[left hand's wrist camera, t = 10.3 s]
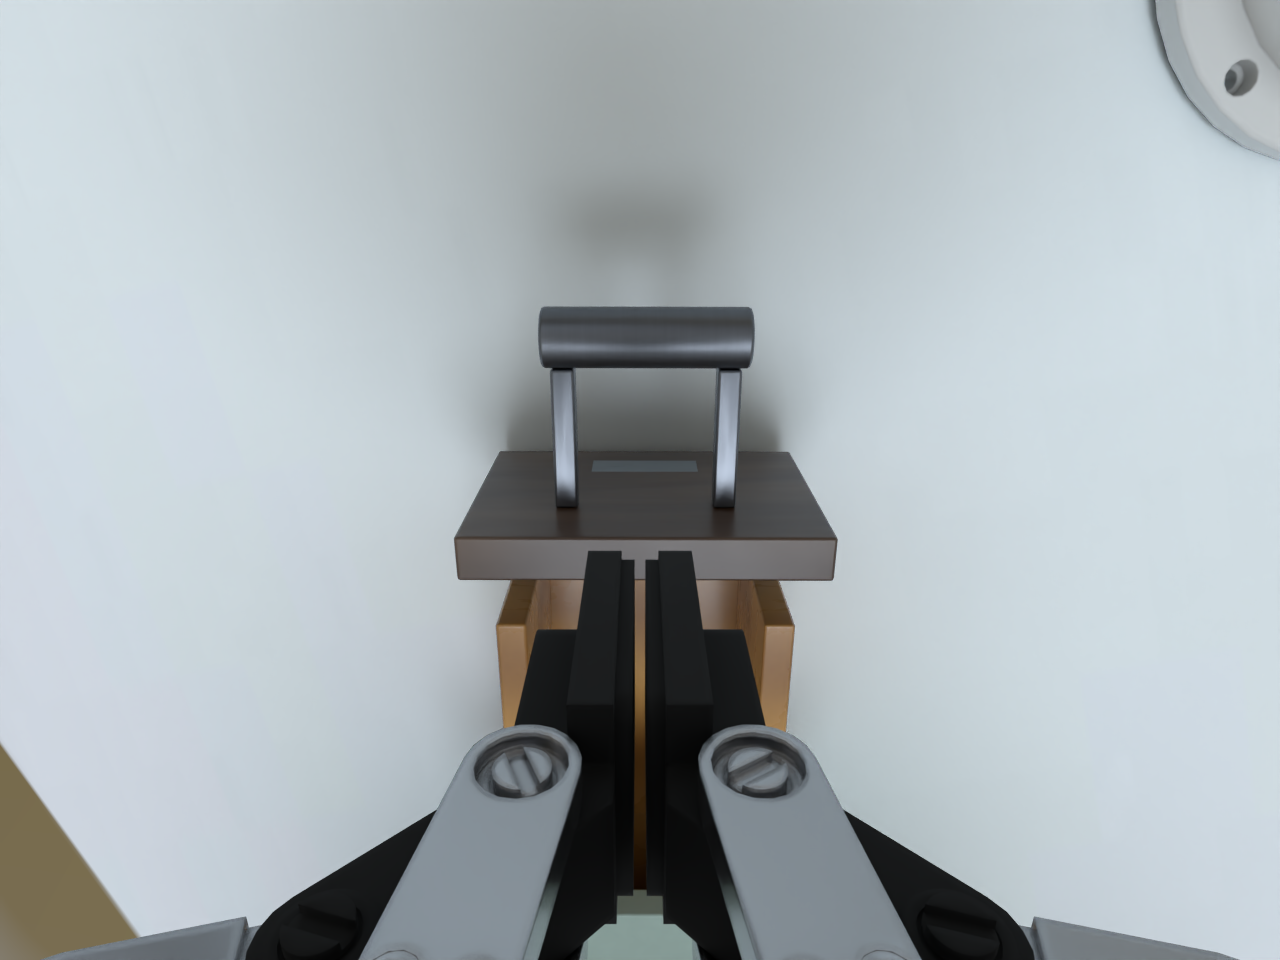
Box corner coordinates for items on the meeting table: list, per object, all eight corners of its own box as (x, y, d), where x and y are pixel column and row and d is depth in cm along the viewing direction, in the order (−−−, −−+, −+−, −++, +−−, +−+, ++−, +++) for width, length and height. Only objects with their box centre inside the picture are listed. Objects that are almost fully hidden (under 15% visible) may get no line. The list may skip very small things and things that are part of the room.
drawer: (487, 284, 23) (433, 320, 17) (801, 285, 23) (861, 321, 17) (527, 878, 32) (500, 1046, 25) (757, 878, 32) (786, 1047, 25)
